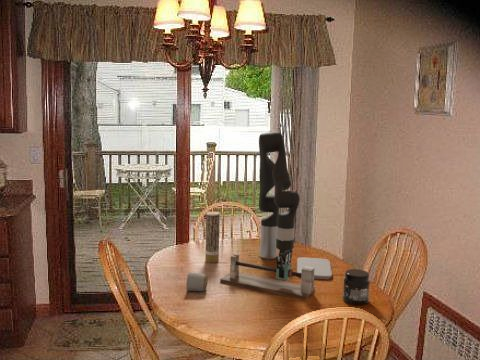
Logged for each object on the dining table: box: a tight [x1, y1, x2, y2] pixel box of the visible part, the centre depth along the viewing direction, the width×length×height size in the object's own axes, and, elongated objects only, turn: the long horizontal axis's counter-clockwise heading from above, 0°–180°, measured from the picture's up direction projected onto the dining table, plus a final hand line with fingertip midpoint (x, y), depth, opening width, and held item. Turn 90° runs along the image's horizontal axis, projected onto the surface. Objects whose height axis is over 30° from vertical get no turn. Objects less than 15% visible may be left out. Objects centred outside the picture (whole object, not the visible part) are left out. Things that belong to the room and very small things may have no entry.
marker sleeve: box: [275, 263, 292, 281], centre depth 197 cm, size 5×5×6 cm
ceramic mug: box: [185, 271, 209, 292], centre depth 196 cm, size 11×8×8 cm
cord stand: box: [219, 253, 316, 301], centre depth 201 cm, size 12×40×12 cm, turn 64°
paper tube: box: [204, 211, 221, 264], centre depth 232 cm, size 7×7×25 cm
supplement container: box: [342, 268, 371, 306], centre depth 188 cm, size 10×10×12 cm
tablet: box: [296, 256, 333, 280], centre depth 225 cm, size 16×26×2 cm, turn 173°
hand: (283, 275), depth 197 cm, fingers closed on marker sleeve, 4 cm apart
